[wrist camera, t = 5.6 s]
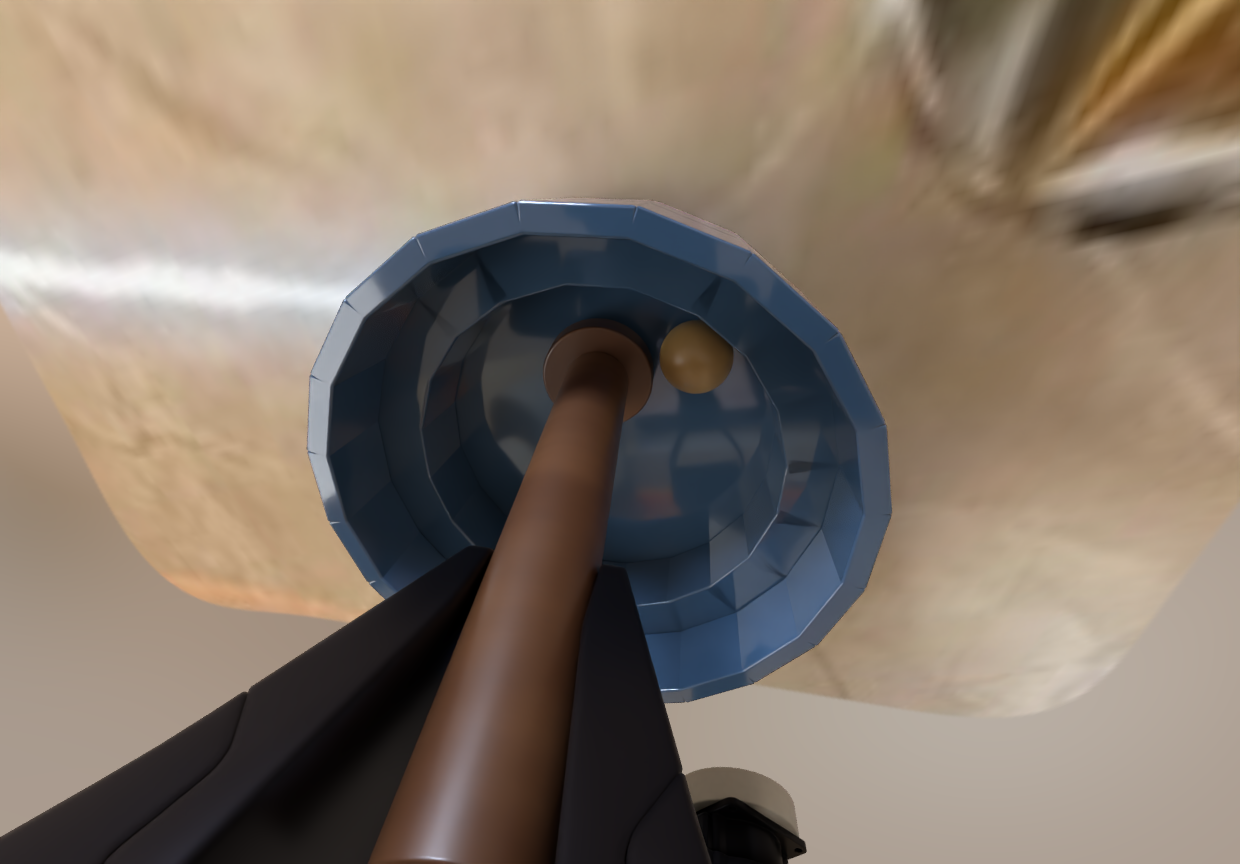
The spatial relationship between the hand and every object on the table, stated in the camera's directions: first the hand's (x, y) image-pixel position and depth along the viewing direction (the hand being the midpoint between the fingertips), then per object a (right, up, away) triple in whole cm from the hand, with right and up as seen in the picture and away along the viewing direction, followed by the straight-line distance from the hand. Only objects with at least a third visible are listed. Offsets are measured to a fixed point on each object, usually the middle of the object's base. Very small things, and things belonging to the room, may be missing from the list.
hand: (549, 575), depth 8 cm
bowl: (+1, +3, +8) cm, 9 cm away
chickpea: (+3, +4, +5) cm, 8 cm away
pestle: (+1, +4, +6) cm, 8 cm away
